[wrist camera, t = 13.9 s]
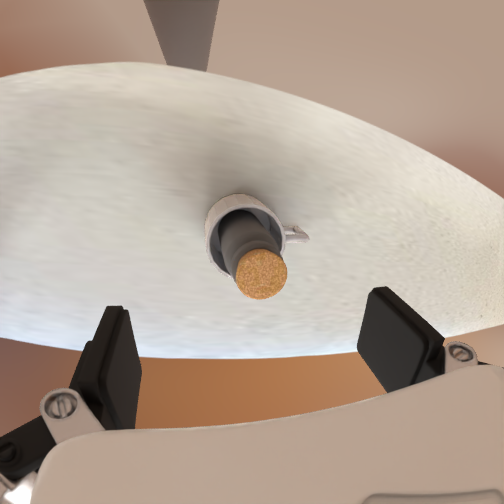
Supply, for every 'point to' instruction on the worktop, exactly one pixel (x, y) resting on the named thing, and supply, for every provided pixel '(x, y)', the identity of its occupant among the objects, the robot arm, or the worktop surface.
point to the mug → (263, 216)
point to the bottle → (251, 255)
